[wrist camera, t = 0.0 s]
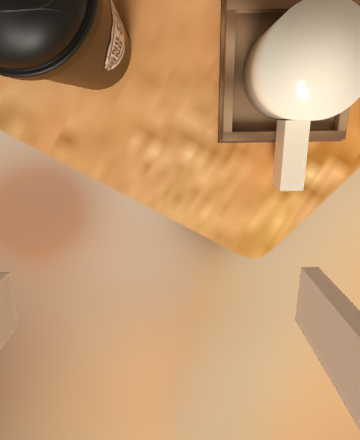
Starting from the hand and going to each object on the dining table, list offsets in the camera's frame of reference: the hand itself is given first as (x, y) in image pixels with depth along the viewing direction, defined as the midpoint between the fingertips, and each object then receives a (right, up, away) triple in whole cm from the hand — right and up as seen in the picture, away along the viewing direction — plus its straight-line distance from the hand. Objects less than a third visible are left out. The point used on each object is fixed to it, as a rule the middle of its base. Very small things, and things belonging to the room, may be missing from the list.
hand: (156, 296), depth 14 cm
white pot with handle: (+13, +17, +23) cm, 31 cm away
